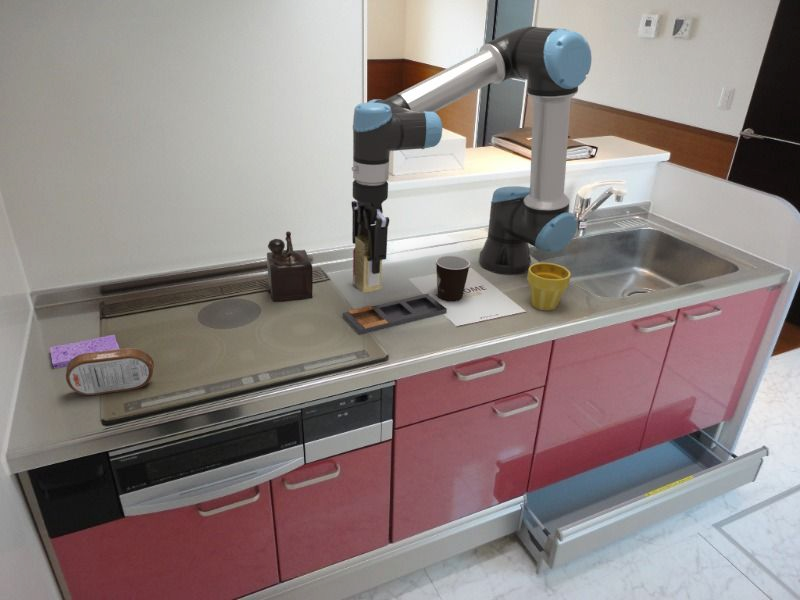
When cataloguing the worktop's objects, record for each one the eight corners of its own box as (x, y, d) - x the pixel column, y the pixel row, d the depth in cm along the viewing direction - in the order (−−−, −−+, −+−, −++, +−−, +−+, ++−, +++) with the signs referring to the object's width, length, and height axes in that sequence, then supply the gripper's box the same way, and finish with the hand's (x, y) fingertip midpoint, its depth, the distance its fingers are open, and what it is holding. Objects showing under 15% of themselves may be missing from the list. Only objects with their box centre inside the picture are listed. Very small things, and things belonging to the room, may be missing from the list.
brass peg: (372, 281, 138) (373, 233, 132) (380, 289, 134) (382, 240, 129) (354, 284, 136) (355, 236, 130) (363, 292, 132) (364, 243, 127)
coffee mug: (464, 307, 149) (468, 271, 144) (430, 302, 150) (433, 267, 146) (468, 287, 159) (472, 253, 154) (437, 283, 160) (440, 249, 156)
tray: (427, 299, 152) (427, 292, 151) (446, 314, 145) (446, 308, 144) (342, 318, 141) (342, 312, 140) (358, 336, 134) (359, 329, 133)
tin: (156, 379, 116) (150, 343, 112) (156, 388, 114) (149, 351, 110) (72, 391, 112) (62, 354, 108) (69, 401, 109) (59, 363, 105)
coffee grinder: (265, 284, 155) (260, 220, 147) (306, 280, 158) (304, 217, 150) (272, 312, 142) (267, 243, 134) (317, 307, 145) (316, 239, 137)
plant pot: (539, 317, 146) (545, 282, 141) (515, 299, 154) (520, 265, 149) (572, 310, 150) (579, 275, 145) (547, 293, 158) (553, 259, 153)
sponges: (51, 354, 123) (49, 347, 122) (116, 340, 129) (115, 333, 128) (53, 371, 118) (51, 363, 117) (121, 355, 124) (119, 348, 123)
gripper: (337, 171, 128) (337, 268, 139) (373, 194, 115) (370, 299, 126) (367, 168, 132) (365, 263, 143) (406, 190, 118) (401, 293, 129)
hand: (368, 280), depth 134 cm, fingers closed on brass peg, 4 cm apart
